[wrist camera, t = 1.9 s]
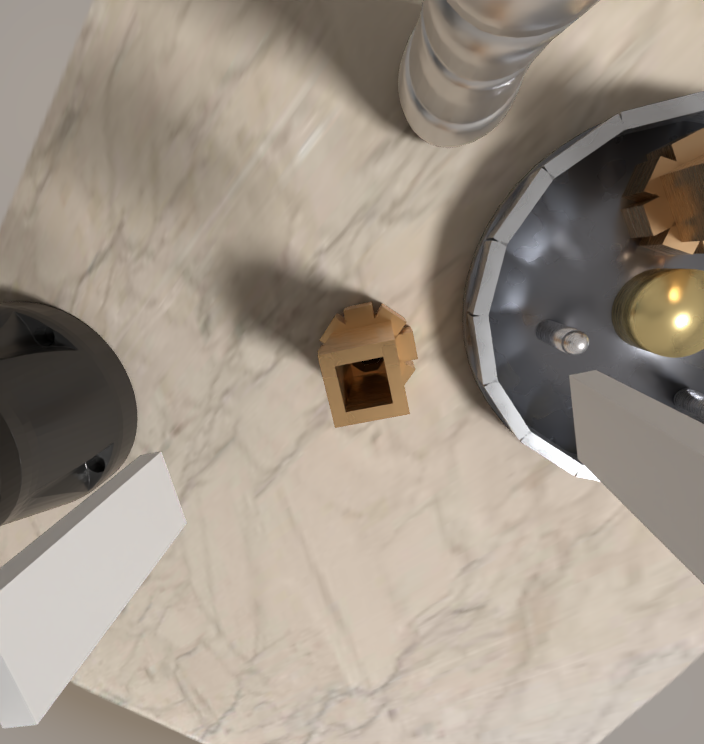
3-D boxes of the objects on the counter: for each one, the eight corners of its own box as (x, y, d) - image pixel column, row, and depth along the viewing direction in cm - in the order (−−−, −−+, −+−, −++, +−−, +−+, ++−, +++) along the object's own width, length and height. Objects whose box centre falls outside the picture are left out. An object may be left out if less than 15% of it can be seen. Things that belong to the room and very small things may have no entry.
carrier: (488, 491, 32) (512, 542, 26) (435, 163, 26) (452, 136, 20) (827, 436, 29) (937, 479, 23) (846, 60, 24) (996, -4, 18)
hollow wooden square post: (335, 398, 30) (317, 453, 22) (314, 313, 29) (287, 336, 20) (420, 381, 30) (438, 431, 21) (404, 294, 28) (415, 309, 20)
